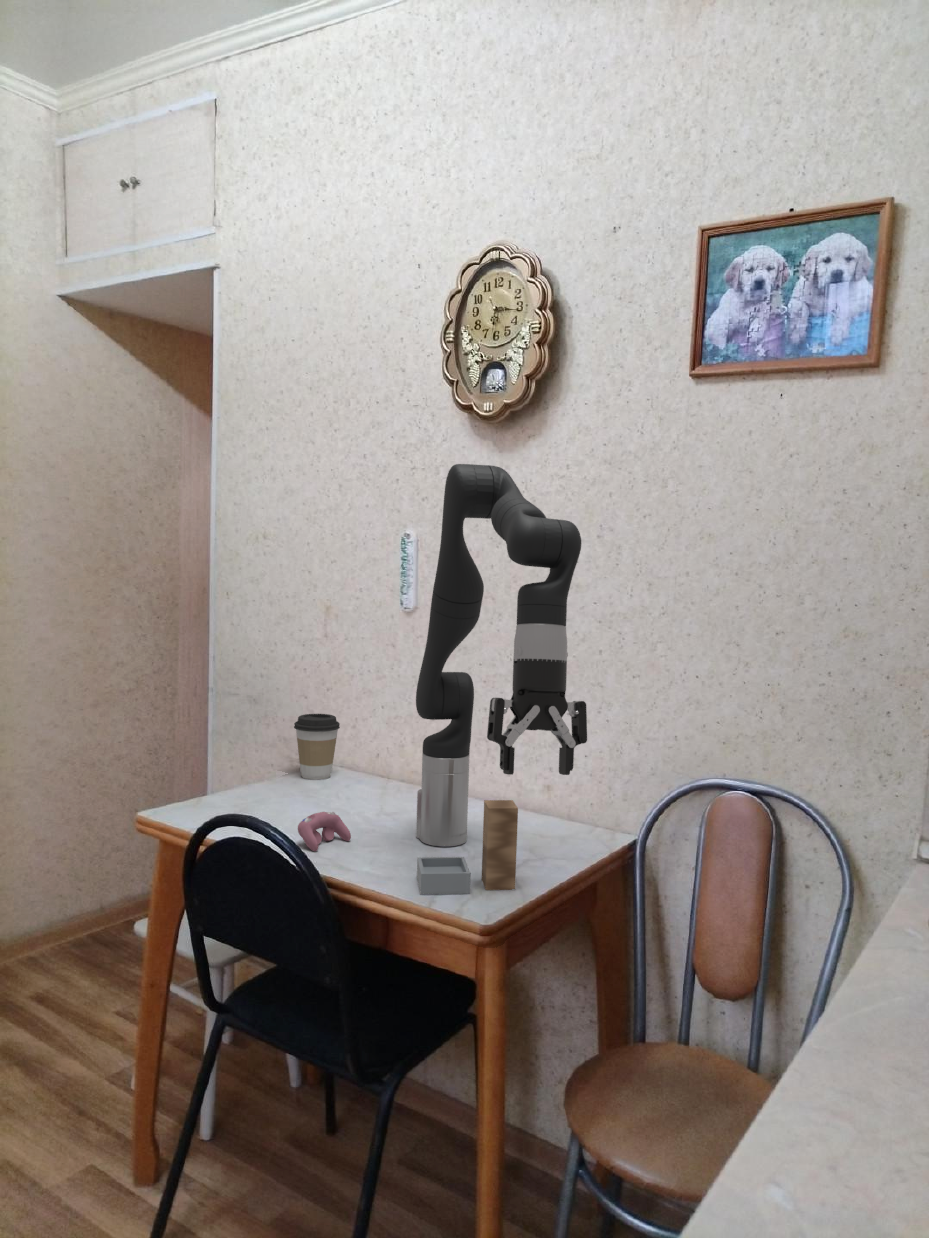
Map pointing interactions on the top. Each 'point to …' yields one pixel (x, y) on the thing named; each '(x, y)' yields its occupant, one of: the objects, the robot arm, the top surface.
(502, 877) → the walnut pillar
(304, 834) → the video game controller
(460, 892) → the grey open box
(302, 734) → the coffee cup
